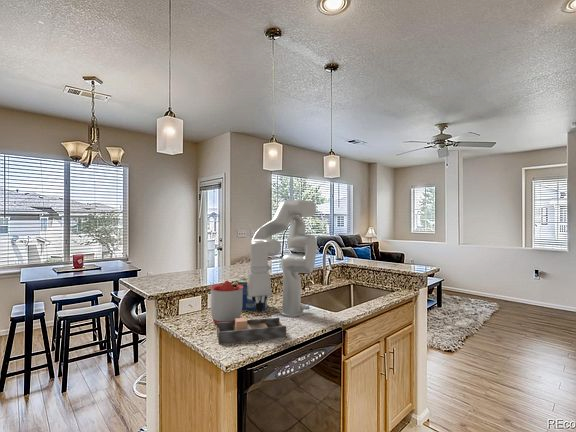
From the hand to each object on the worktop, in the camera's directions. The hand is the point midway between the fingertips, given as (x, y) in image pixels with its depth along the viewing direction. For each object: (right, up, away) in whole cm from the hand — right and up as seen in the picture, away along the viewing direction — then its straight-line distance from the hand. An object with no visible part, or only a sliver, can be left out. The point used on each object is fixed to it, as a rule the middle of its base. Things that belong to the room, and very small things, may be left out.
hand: (259, 311), depth 135 cm
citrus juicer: (-17, -10, +15) cm, 25 cm away
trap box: (-4, -10, -2) cm, 10 cm away
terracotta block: (-8, -7, -3) cm, 11 cm away
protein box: (-7, -10, +38) cm, 40 cm away
